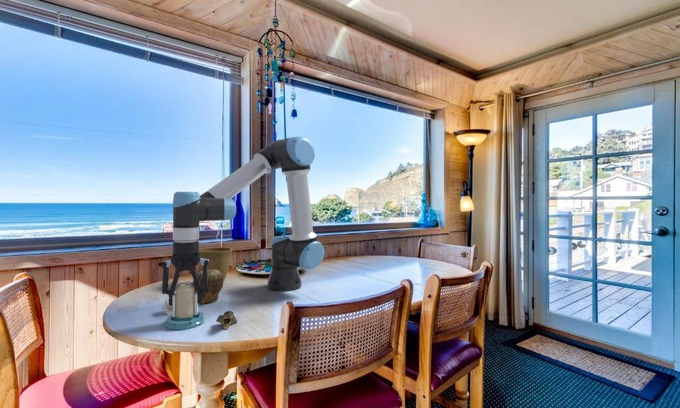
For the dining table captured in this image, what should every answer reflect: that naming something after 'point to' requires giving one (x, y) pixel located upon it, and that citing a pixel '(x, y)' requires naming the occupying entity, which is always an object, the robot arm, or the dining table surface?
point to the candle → (185, 300)
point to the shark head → (227, 319)
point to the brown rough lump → (211, 285)
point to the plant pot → (217, 258)
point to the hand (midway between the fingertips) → (185, 314)
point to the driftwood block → (168, 308)
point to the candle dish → (184, 322)
